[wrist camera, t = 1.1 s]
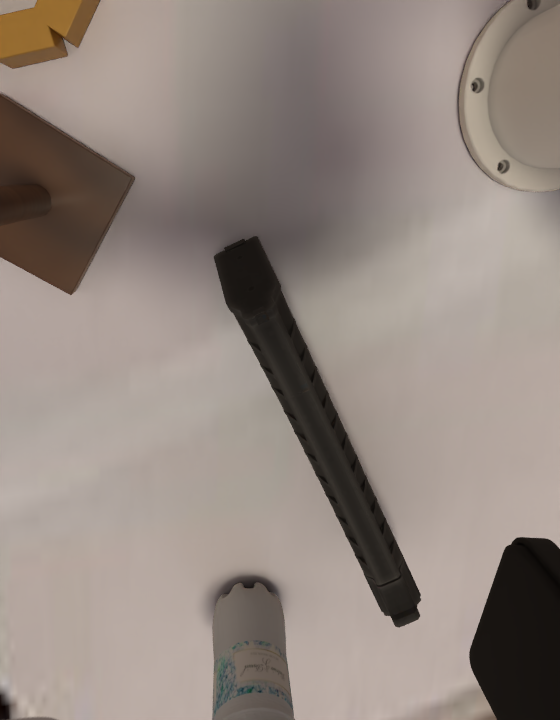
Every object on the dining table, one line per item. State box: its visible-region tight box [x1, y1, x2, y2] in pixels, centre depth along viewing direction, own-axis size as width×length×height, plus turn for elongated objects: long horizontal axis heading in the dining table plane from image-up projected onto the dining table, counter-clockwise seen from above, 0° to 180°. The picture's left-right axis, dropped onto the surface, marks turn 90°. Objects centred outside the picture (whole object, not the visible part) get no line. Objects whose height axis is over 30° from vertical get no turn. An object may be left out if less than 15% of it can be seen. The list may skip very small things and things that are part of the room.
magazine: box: [214, 236, 421, 627], centre depth 36 cm, size 17×3×30 cm
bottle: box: [212, 582, 295, 720], centre depth 38 cm, size 7×7×20 cm
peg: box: [0, 94, 135, 295], centre depth 28 cm, size 9×9×11 cm
